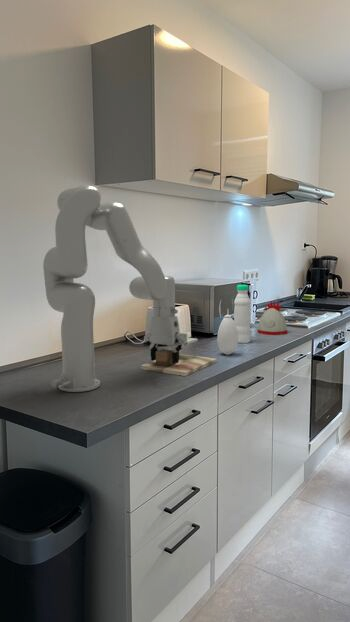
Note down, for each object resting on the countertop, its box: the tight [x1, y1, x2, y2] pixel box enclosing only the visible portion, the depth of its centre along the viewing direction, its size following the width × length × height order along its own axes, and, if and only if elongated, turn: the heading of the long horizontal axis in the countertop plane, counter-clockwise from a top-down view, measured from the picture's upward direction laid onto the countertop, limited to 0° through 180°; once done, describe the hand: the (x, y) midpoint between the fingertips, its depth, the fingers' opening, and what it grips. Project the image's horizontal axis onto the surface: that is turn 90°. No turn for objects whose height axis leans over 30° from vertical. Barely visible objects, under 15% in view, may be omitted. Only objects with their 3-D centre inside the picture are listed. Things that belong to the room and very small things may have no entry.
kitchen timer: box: [257, 301, 288, 336], centre depth 230 cm, size 14×14×15 cm
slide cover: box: [167, 332, 199, 354], centre depth 177 cm, size 8×8×9 cm
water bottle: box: [233, 284, 252, 344], centre depth 208 cm, size 7×7×25 cm
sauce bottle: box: [216, 309, 239, 356], centre depth 186 cm, size 8×8×18 cm
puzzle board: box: [140, 353, 218, 377], centre depth 171 cm, size 22×18×1 cm
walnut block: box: [156, 348, 174, 367], centre depth 168 cm, size 4×4×6 cm
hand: (164, 361), depth 168 cm, fingers open, 8 cm apart
